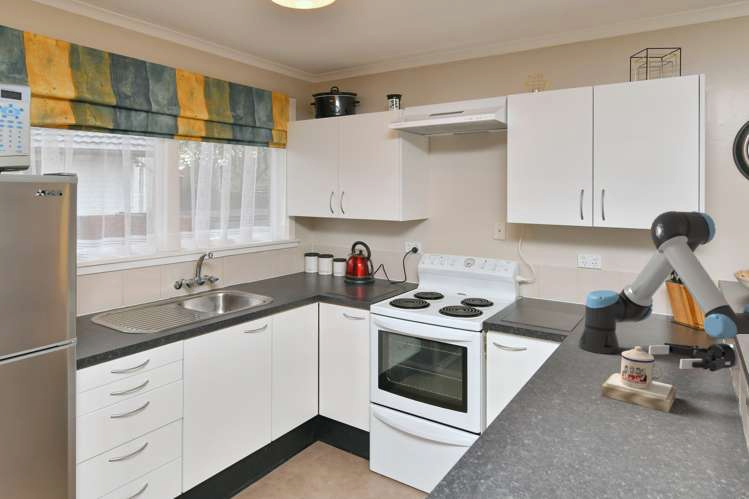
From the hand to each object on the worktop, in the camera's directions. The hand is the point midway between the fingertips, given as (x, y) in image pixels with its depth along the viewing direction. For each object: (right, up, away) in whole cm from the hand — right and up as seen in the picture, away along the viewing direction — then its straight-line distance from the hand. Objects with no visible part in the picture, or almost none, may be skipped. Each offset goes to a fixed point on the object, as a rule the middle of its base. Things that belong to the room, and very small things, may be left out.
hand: (664, 356), depth 152 cm
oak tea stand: (-8, -12, 0) cm, 15 cm away
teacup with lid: (-8, -9, -1) cm, 12 cm away
